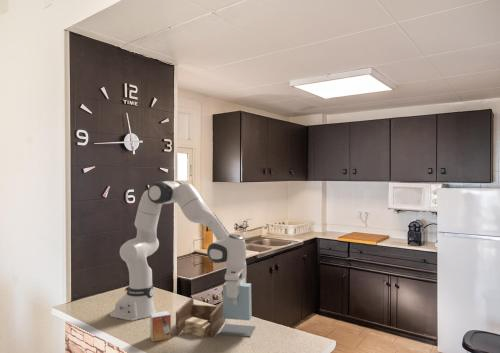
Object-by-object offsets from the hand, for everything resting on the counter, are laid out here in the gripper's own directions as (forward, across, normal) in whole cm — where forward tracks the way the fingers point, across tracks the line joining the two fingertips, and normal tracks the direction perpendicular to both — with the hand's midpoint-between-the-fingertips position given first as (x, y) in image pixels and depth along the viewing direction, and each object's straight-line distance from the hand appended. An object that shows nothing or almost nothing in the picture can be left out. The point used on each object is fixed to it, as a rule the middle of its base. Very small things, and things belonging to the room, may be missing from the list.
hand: (237, 301), depth 164 cm
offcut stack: (+13, +4, -18) cm, 22 cm away
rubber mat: (+13, 0, 0) cm, 13 cm away
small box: (+13, +13, -31) cm, 36 cm away
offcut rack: (+13, 0, -17) cm, 21 cm away
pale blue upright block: (+7, 0, 0) cm, 7 cm away
